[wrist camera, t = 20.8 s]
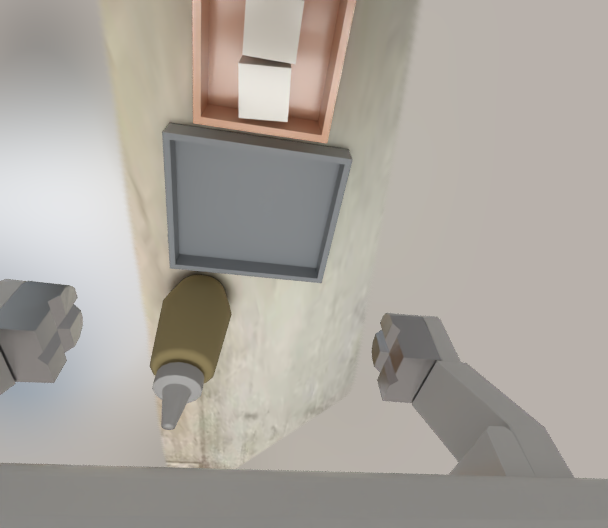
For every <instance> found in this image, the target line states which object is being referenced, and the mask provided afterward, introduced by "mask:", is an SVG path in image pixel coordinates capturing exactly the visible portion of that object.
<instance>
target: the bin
mask: <svg viewBox="0 0 608 528" xmlns="http://www.w3.org/2000/svg"><path fill="white" fill-rule="evenodd" d="M245 5H246V0H192V50H193V123H194V124H201V125H208V126H214V127H221V128H228V129H234V130H241V131H248V132H254V133H261V134H268V135H274V136H281V137H288V138H294V139H301V140H308V141H314V142H321V143H327V142H328V137H329V132H330V127H331V122H332V118H333V113H334V108H335V103H336V98H337V93H338V88H339V83H340V78H341V74H342V69H343V64H344V59H345V54H346V49H347V44H348V39H349V35H350V30H351V25H352V20H353V15H354V10H355V5H356V0H304V8H303V15H302V22H301V29H300V36H299V43H298V50H297V58H296V64H291V68H292V69H291V83H290V97H289V111H288V122H280V121H269V120H257V119H246V118H239V93H238V63H239V61H240V59H241V57H242V51H243V36H244V20H245Z"/></svg>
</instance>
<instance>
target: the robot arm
mask: <svg viewBox="0 0 608 528" xmlns="http://www.w3.org/2000/svg"><path fill="white" fill-rule="evenodd" d="M76 299H77V294H76V291H75V288H74V287H72V286H69V285H61V284H52V283H43V282H33V281H19V280H11V279H4V280H2V281H0V395H1V394H2V393H4V392H5V391H6V390H8V389H9V388H10V387H12V386H13V385H14V384H15V382H42V383H54V382H55V380H56V379H57V377H58V375H59V373H60V371H61V370H62V368H63V366H64V365H65V363H66V361H67V360H66V356H65V352H66V351H68V350H70V349H71V348H73V347H74V346H75V345H76V343H77V341H78V339H79V337H80V334H81V330H82V325H83V322H82V313H81V310H80V309H79V308H77V307H76V306H75V305H74V302H75V301H76ZM380 324H381V328H382V330H380V331H379V332H378V333H376V334H375V337H374V340H373V345H372V359H373V364H374V367H375V368H376V369H377V370H378V371H379V372H380V375H379V377H378V380H377V381H378V384H379V388H380V393H381V397H382V400H383V401H393V402H405V403H412V405H413V407H414V408H415V409H416V410H417V412H418V413H419V414H420V415H421V416H422V418H423V419H424V420H425V421H426V423H427V424H428V425H429V426H430V428H431V429H432V430H433V431H434V432H435V434H436V435H437V436H438V437H439V438H440V440H441V441H442V442H443V443H444V445H445V446H446V447H447V448H448V450H449V451H450V452H451V453H452V455H453V456H454V457H455V458H456V459H457V461H458V462H459V463H458V464H457V465H456V467H455V468H454V469H453V470H452V471H451V472H450V474H449V475H438V474H401V473H363V472H362V473H361V472H326V471H325V472H323V471H289V470H287V471H286V470H251V469H212V468H173V467H133V466H95V465H94V466H93V465H58V464H20V463H0V528H608V479H587V478H574V477H573V475H572V473H571V471H570V469H569V468H568V466H567V464H566V463H565V461H564V460H563V458H562V456H561V454H560V453H559V451H558V449H557V447H556V446H555V444H554V442H553V441H552V439H551V437H550V435H549V434H548V432H547V430H546V429H545V427H544V426H542V425H541V424H540V423H539V422H538V421H536V420H535V419H534V418H533V417H531V416H530V415H529V414H528V413H526V412H525V411H524V410H523V409H522V408H520V407H519V406H518V405H517V404H516V403H514V402H513V401H512V400H511V399H509V398H508V397H507V396H506V395H505V394H503V393H502V392H501V391H500V390H499V389H497V388H496V387H495V386H494V385H493V384H491V383H490V382H489V381H488V380H486V379H485V378H484V377H483V376H481V375H480V374H479V373H478V372H477V371H476V370H474V369H473V368H472V367H471V366H469V365H468V364H467V363H462V362H461V361H460V359H459V357H458V355H457V353H456V351H455V349H454V347H453V345H452V342H451V340H450V338H449V336H448V334H447V332H446V330H445V328H444V326H443V324H442V322H441V320H440V319H439V318H438V317H434V316H418V315H405V314H392V313H386V314H385V315H384V316H383V317H382V320H381V322H380Z"/></svg>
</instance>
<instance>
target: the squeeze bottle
mask: <svg viewBox="0 0 608 528" xmlns="http://www.w3.org/2000/svg"><path fill="white" fill-rule="evenodd" d="M230 318H231V310H230V306H229V302H228V299H227V296H226V293H225V290H224V287H223V286H222V285H221V284H220V282H219V281H217V280H215V279H214V278H212V277H210V276H205V275H191V276H189V277H187V278H185V279H183V280H182V281H181V282H180V283H179V284H178V285H177V286H176V287H175V288H174V289H173V290H172V291H171V292H170V293H169V294H168V295H167V297H166V298H165V299H164V300H163V304H162V309H161V313H160V318H159V323H158V328H157V332H156V337H155V342H154V347H153V351H152V356H151V362H150V368H151V370H152V372H153V374H154V375H155V379H154V383H153V388H152V389H153V391H154V393H155V395H157V396H158V397H159V398H160V399H162V424H161V426H162V428H163V429H166V430H172V429H174V428H175V426H176V424H177V422H178V420H179V418H180V416H181V414H182V412H183V410H184V408H185V405H186V403H189V402H192V401H195V400H196V399H197V398H199V397H200V396H201V393H202V389H203V384H204V383H206V382H207V381H209V380H210V379H211V378H212V377H213V375H214V372H215V369H216V366H217V362H218V359H219V355H220V352H221V349H222V345H223V342H224V338H225V335H226V331H227V328H228V324H229V321H230Z"/></svg>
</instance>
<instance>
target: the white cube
mask: <svg viewBox="0 0 608 528" xmlns="http://www.w3.org/2000/svg"><path fill="white" fill-rule="evenodd" d="M303 8H304V0H246V5H245V20H244V36H243V51H242V55H246V56H252V57H257V58H263V59H268V60H274V61H279V62H285V63H290V64H296V58H297V50H298V43H299V36H300V29H301V22H302V15H303Z"/></svg>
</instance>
